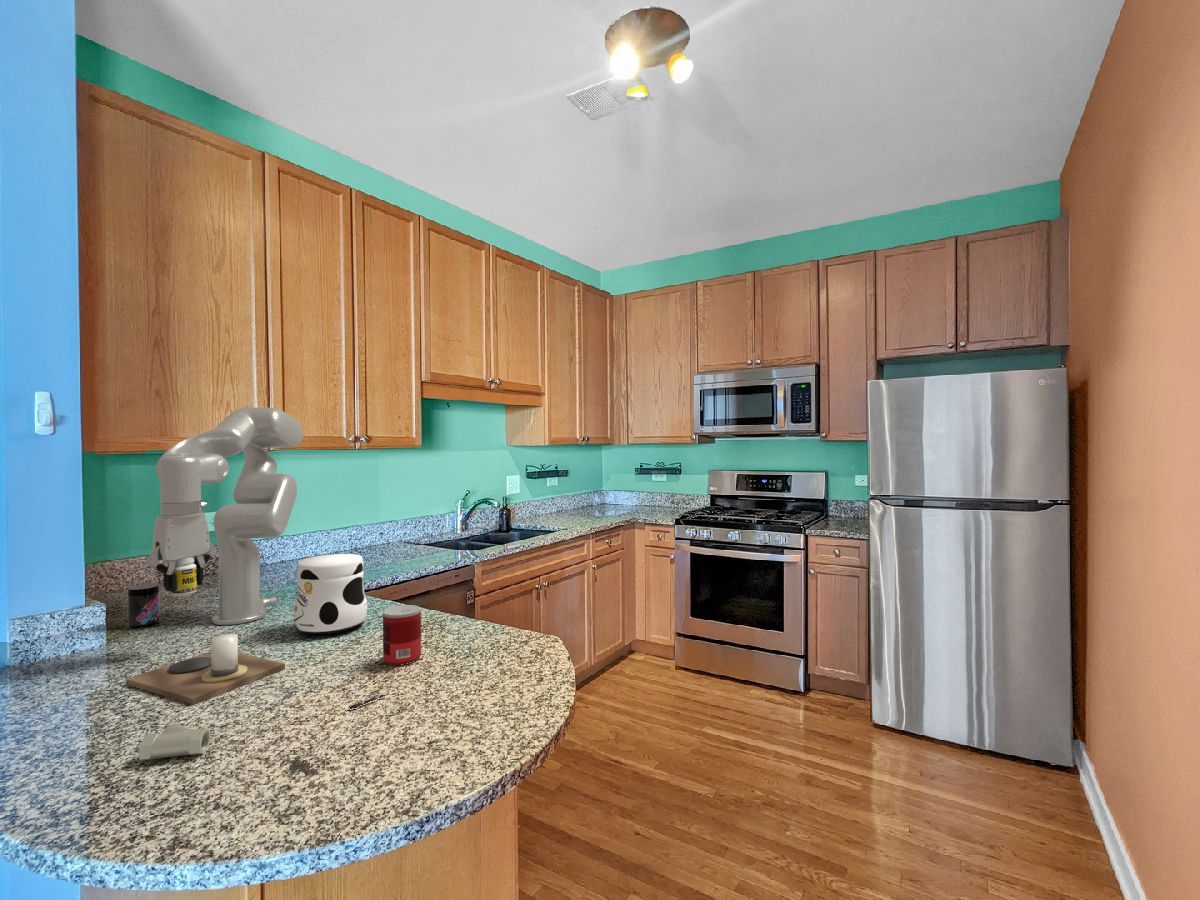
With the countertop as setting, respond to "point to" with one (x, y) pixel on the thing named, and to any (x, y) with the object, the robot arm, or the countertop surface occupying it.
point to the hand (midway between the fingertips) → (184, 586)
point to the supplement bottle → (185, 577)
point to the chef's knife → (365, 702)
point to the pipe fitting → (174, 743)
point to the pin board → (202, 677)
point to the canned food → (401, 634)
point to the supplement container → (143, 605)
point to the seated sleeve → (224, 655)
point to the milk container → (330, 594)
